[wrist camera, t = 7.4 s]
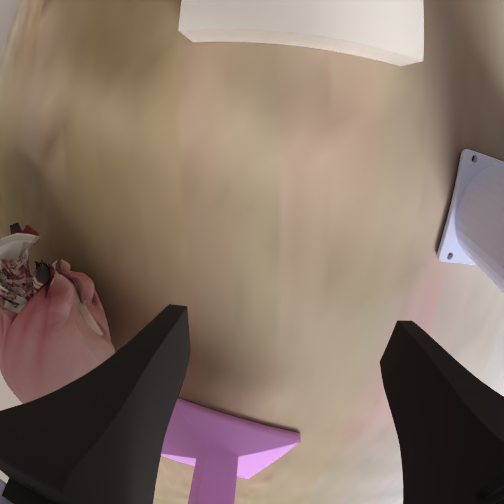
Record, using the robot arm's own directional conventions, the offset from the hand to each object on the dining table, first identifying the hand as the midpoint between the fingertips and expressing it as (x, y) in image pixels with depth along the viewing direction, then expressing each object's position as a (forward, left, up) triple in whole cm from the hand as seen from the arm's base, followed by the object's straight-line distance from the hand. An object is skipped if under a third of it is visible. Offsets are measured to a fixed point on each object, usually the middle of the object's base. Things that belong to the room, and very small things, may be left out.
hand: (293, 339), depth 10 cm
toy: (+17, +7, -10) cm, 21 cm away
